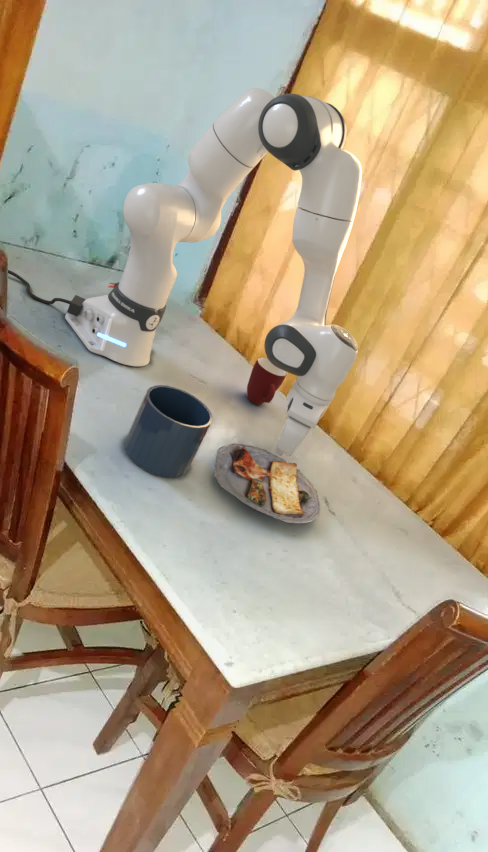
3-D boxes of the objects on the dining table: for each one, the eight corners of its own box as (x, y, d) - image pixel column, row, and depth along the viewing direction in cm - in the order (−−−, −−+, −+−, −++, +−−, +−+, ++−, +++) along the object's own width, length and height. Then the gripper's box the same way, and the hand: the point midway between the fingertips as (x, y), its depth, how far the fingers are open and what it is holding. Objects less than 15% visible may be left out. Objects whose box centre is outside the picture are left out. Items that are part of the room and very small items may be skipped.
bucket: (110, 438, 137) (132, 387, 131) (159, 431, 148) (182, 383, 141) (152, 482, 132) (177, 431, 126) (200, 472, 142) (225, 424, 136)
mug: (277, 418, 178) (296, 384, 173) (251, 413, 173) (269, 378, 168) (261, 393, 185) (278, 360, 180) (235, 388, 180) (252, 354, 175)
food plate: (216, 437, 156) (222, 424, 154) (310, 478, 161) (318, 466, 160) (206, 501, 135) (214, 487, 134) (316, 545, 140) (324, 532, 139)
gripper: (300, 376, 160) (273, 425, 167) (289, 411, 143) (258, 465, 150) (325, 389, 161) (297, 438, 168) (317, 425, 143) (285, 479, 150)
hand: (278, 451), depth 158 cm, fingers closed
